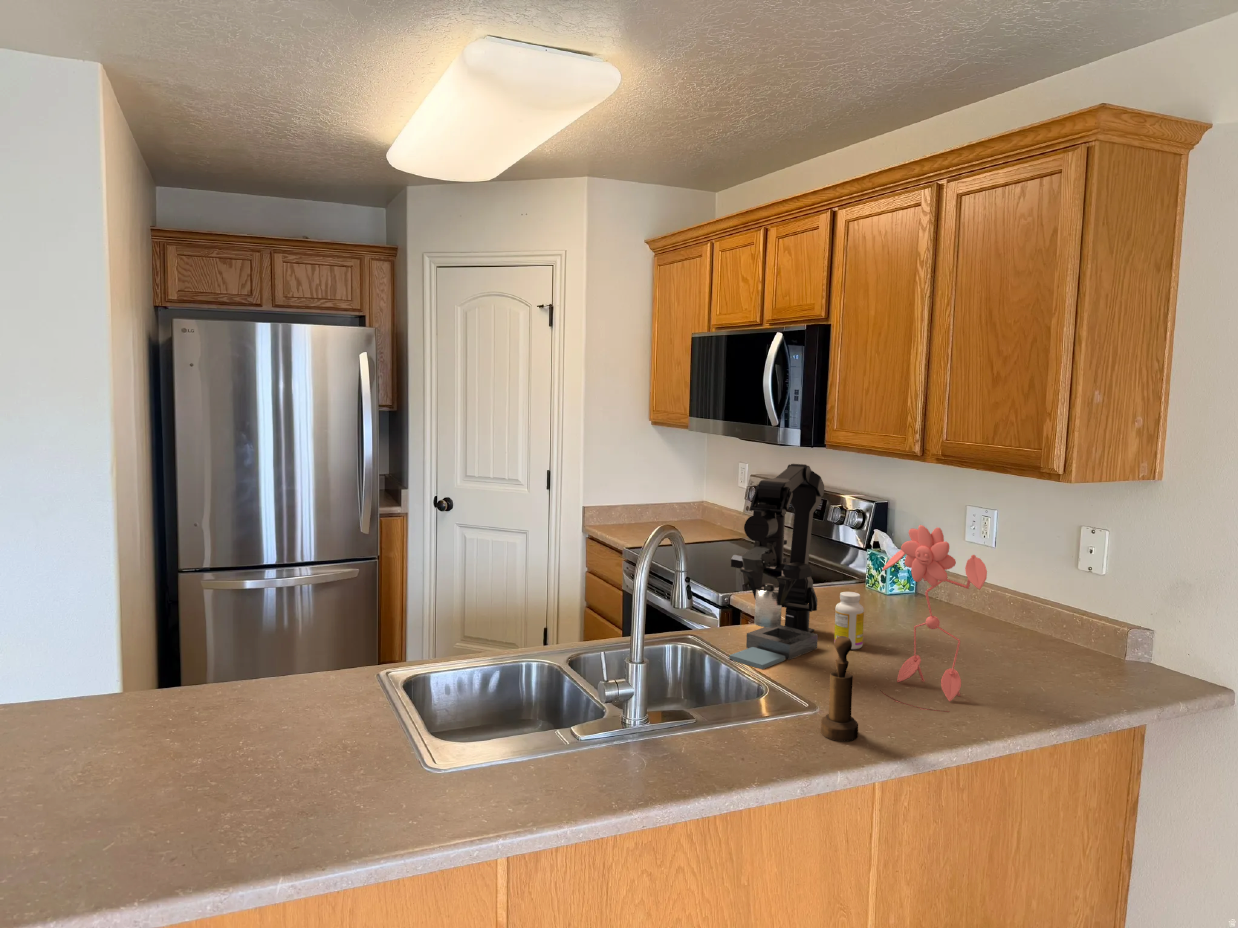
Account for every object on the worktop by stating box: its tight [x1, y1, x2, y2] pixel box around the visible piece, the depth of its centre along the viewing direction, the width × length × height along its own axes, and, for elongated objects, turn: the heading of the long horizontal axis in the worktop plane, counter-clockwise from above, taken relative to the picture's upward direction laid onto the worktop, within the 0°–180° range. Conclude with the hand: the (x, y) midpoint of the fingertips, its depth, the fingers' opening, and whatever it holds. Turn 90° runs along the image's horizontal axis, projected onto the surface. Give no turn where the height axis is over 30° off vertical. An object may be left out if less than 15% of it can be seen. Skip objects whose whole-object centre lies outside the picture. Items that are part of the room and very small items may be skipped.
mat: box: [728, 647, 786, 670], centre depth 191 cm, size 9×9×1 cm
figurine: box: [880, 524, 988, 713], centre depth 170 cm, size 15×26×35 cm, turn 30°
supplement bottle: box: [833, 591, 865, 650], centre depth 202 cm, size 7×7×13 cm
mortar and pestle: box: [820, 636, 859, 742], centre depth 151 cm, size 7×6×18 cm
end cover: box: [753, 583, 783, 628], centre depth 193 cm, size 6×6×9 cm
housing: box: [745, 624, 819, 660], centre depth 200 cm, size 12×12×4 cm
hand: (768, 602), depth 193 cm, fingers closed on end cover, 6 cm apart
